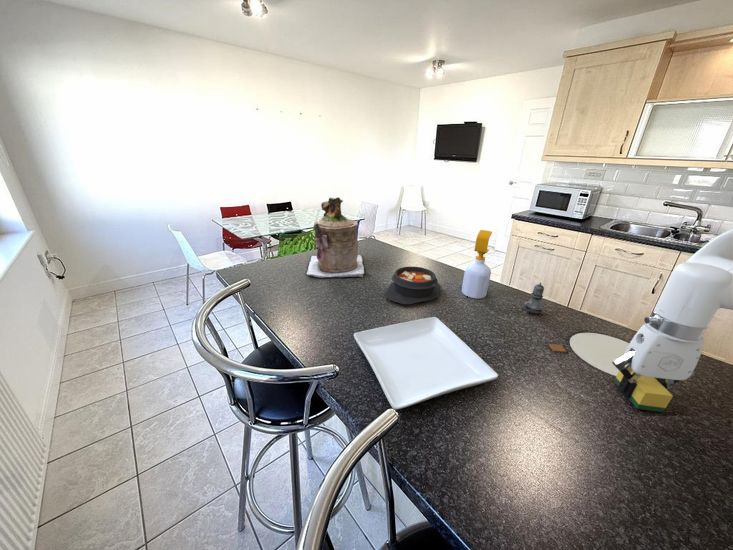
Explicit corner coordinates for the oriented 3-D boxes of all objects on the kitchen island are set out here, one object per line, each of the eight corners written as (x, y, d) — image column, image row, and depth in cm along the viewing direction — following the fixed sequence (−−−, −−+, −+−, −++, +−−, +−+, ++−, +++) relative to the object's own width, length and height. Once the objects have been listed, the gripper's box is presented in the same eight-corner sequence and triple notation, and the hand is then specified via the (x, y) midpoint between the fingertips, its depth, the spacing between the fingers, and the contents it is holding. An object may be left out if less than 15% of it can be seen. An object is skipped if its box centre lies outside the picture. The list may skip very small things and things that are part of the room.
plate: (628, 340, 87) (630, 336, 87) (683, 390, 69) (685, 386, 69) (556, 332, 90) (557, 329, 90) (590, 379, 72) (592, 375, 72)
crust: (559, 349, 83) (561, 344, 82) (565, 356, 80) (567, 351, 79) (546, 348, 83) (548, 343, 82) (551, 354, 80) (553, 350, 80)
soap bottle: (488, 292, 114) (501, 230, 104) (483, 301, 107) (496, 236, 97) (465, 286, 119) (475, 226, 109) (458, 295, 112) (469, 232, 102)
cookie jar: (362, 258, 146) (363, 191, 133) (365, 278, 123) (366, 201, 110) (311, 258, 144) (308, 191, 131) (305, 279, 122) (300, 200, 109)
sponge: (637, 384, 68) (645, 368, 66) (663, 412, 61) (673, 396, 59) (613, 381, 69) (621, 365, 67) (636, 408, 62) (645, 392, 60)
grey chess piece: (530, 320, 96) (540, 287, 92) (517, 311, 102) (526, 279, 97) (545, 317, 98) (555, 285, 93) (531, 308, 103) (540, 277, 98)
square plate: (351, 343, 83) (351, 331, 82) (434, 325, 92) (436, 315, 91) (392, 421, 60) (394, 407, 58) (498, 387, 69) (501, 374, 68)
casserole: (415, 315, 97) (417, 293, 94) (373, 296, 109) (373, 276, 105) (451, 291, 114) (454, 271, 111) (411, 277, 126) (413, 258, 122)
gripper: (639, 331, 55) (605, 402, 63) (745, 341, 53) (696, 414, 60) (615, 310, 62) (587, 377, 69) (708, 319, 60) (668, 387, 67)
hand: (638, 393), depth 65 cm, fingers closed on sponge, 5 cm apart
